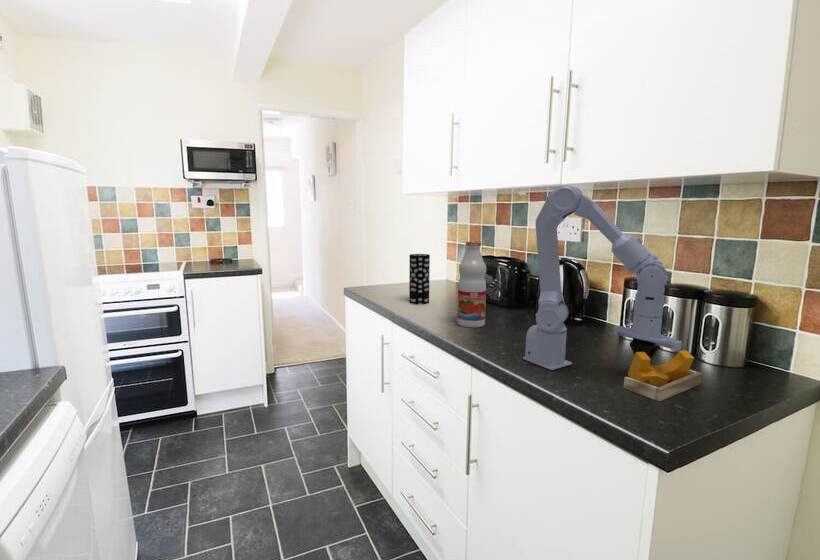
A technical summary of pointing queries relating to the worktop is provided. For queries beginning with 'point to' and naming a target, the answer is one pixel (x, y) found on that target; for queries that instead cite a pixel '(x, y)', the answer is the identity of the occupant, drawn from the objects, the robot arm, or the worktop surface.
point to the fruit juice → (472, 288)
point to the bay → (664, 386)
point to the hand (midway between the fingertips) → (642, 372)
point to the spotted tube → (419, 278)
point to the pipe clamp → (660, 369)
